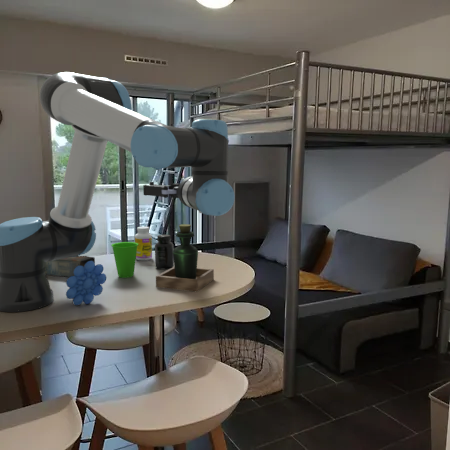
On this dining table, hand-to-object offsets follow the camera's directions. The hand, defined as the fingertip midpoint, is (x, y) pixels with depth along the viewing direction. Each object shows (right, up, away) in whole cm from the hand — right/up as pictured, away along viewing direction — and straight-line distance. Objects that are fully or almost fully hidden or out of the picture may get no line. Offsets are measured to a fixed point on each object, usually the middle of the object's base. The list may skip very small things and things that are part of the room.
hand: (175, 187), depth 119 cm
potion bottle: (+1, -29, +19) cm, 35 cm away
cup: (-20, -28, +28) cm, 45 cm away
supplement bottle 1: (-19, -24, +53) cm, 61 cm away
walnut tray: (+1, -29, +20) cm, 35 cm away
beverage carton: (-42, -28, +31) cm, 59 cm away
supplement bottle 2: (-9, -26, +40) cm, 49 cm away
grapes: (-25, -32, +1) cm, 41 cm away
